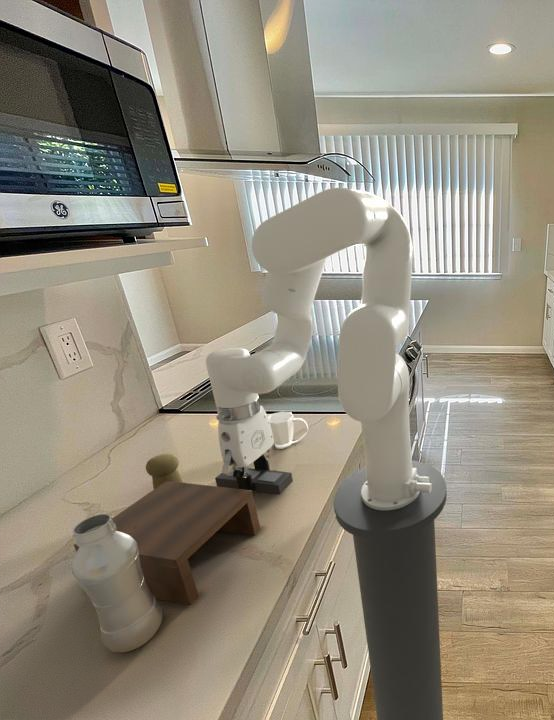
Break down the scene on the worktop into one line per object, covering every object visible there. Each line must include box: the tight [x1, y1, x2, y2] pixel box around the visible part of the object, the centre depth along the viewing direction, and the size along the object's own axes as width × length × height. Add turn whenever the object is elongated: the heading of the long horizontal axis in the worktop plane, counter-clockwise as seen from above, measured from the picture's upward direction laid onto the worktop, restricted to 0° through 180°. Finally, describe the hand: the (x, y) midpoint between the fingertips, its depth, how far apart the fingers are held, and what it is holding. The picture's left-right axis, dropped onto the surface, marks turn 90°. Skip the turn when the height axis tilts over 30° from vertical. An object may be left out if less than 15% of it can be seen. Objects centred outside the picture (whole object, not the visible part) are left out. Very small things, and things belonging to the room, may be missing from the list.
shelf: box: [73, 481, 261, 606], centre depth 68 cm, size 18×16×9 cm
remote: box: [214, 467, 294, 495], centre depth 86 cm, size 15×5×3 cm, turn 81°
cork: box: [145, 452, 186, 490], centre depth 81 cm, size 6×6×11 cm
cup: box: [267, 410, 309, 450], centre depth 103 cm, size 7×10×8 cm
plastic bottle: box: [71, 513, 163, 653], centre depth 53 cm, size 6×7×20 cm
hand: (255, 482), depth 87 cm, fingers closed on remote, 4 cm apart
